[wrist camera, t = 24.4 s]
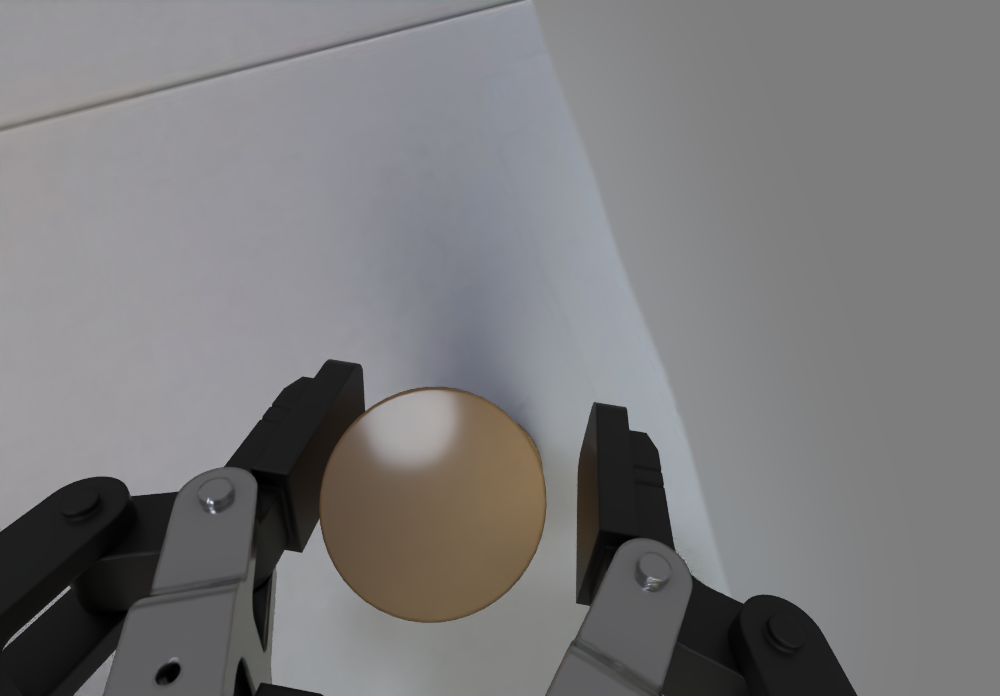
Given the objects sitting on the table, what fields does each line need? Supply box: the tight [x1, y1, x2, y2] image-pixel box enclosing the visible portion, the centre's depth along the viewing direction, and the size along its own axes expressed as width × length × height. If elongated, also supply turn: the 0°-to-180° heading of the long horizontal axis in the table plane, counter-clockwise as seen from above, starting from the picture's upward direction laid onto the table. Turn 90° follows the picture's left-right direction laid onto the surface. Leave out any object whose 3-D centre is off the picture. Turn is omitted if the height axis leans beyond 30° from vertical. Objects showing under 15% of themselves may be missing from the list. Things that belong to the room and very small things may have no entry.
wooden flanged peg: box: [319, 387, 546, 623], centre depth 15 cm, size 5×5×13 cm
